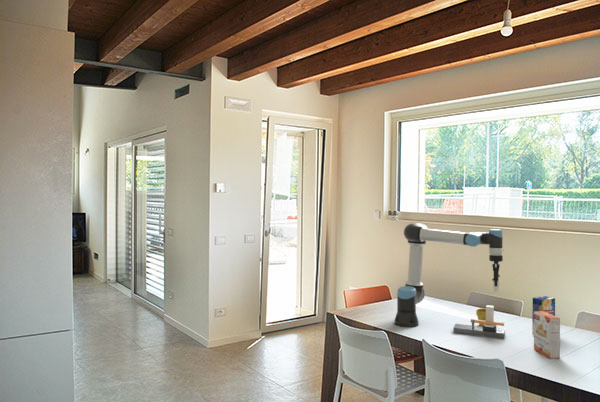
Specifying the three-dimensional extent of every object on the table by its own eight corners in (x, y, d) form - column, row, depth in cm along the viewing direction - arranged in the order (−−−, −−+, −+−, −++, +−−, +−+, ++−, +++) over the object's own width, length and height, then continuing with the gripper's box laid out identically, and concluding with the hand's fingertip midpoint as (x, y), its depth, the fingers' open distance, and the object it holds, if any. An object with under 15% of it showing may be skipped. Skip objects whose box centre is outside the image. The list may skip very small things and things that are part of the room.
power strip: (453, 332, 283) (453, 322, 283) (455, 328, 292) (455, 318, 292) (503, 338, 271) (504, 328, 271) (504, 334, 280) (504, 324, 280)
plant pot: (495, 328, 292) (495, 312, 292) (477, 327, 294) (477, 311, 294) (491, 323, 302) (492, 308, 302) (475, 323, 304) (475, 308, 304)
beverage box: (555, 335, 278) (555, 298, 278) (542, 337, 273) (542, 300, 273) (544, 332, 284) (544, 296, 284) (532, 334, 279) (532, 297, 279)
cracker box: (533, 349, 251) (533, 311, 251) (543, 349, 252) (544, 310, 251) (549, 358, 237) (549, 317, 237) (560, 358, 238) (560, 317, 237)
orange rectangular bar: (470, 329, 278) (470, 319, 278) (470, 328, 281) (470, 318, 281) (504, 333, 270) (504, 323, 270) (504, 331, 273) (504, 322, 273)
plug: (483, 331, 275) (483, 307, 275) (484, 327, 282) (484, 304, 282) (494, 332, 272) (494, 308, 272) (495, 329, 280) (495, 305, 280)
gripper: (502, 257, 272) (502, 293, 272) (502, 252, 295) (503, 286, 295) (488, 256, 275) (488, 292, 275) (489, 252, 298) (490, 285, 298)
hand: (496, 289), depth 285 cm, fingers open, 13 cm apart
